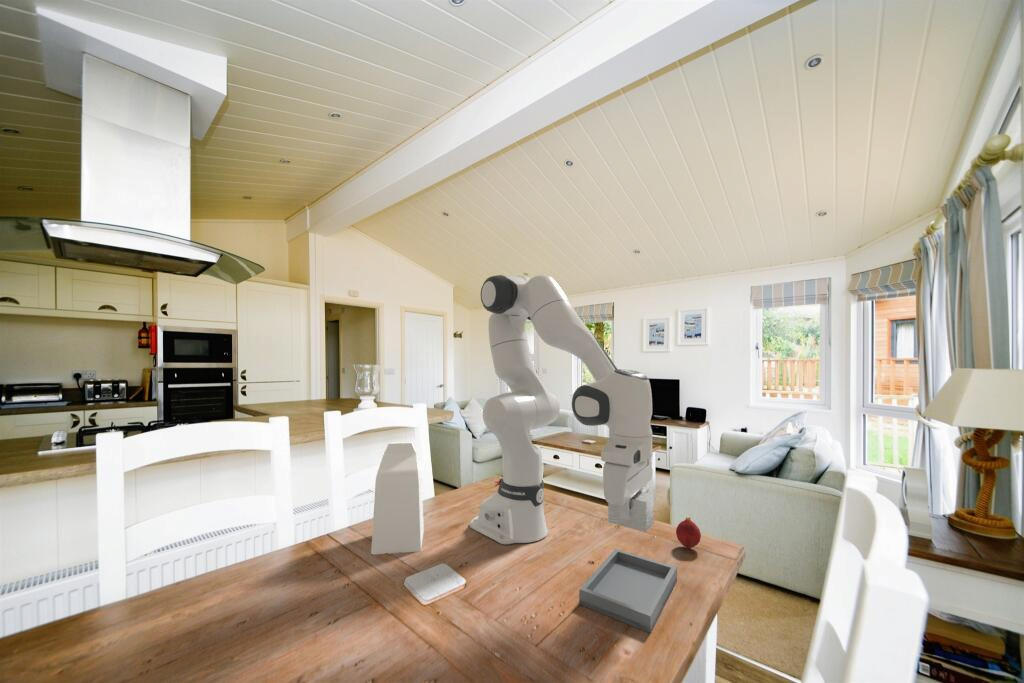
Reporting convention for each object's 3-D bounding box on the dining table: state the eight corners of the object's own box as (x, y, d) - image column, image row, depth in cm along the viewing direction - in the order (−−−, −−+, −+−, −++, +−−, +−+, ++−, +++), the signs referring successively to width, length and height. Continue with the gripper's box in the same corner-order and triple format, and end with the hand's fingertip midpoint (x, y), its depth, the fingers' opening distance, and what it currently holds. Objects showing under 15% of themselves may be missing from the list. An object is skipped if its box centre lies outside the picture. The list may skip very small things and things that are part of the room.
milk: (371, 554, 98) (372, 448, 99) (379, 533, 110) (380, 438, 110) (420, 551, 100) (422, 447, 101) (423, 530, 112) (424, 437, 112)
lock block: (608, 522, 84) (608, 493, 84) (616, 514, 88) (616, 487, 88) (646, 532, 80) (646, 502, 80) (653, 523, 84) (653, 494, 84)
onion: (703, 555, 99) (703, 522, 99) (678, 553, 100) (678, 520, 100) (697, 544, 105) (697, 513, 105) (674, 542, 106) (674, 511, 106)
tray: (579, 604, 79) (579, 589, 80) (615, 561, 96) (615, 548, 96) (650, 633, 71) (650, 616, 72) (676, 580, 88) (676, 567, 88)
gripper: (631, 436, 95) (631, 495, 94) (597, 454, 78) (597, 525, 78) (659, 439, 91) (659, 500, 91) (629, 459, 74) (629, 534, 74)
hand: (630, 512), depth 84 cm, fingers closed on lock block, 5 cm apart
